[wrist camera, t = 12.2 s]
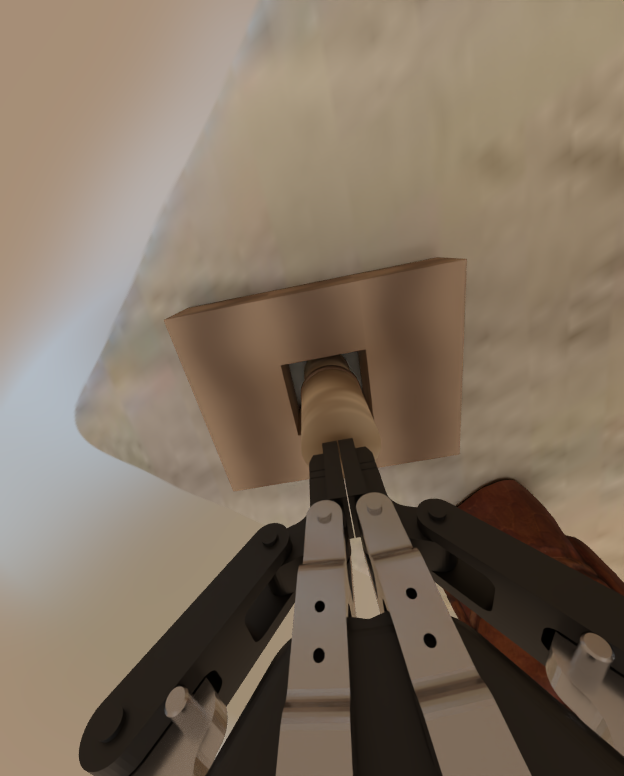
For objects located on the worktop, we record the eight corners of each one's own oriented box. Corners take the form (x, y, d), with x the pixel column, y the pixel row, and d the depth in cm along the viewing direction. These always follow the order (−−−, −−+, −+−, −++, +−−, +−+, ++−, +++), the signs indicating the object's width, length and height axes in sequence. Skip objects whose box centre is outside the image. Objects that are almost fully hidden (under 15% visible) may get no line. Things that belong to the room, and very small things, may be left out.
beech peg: (348, 343, 23) (378, 404, 14) (354, 390, 24) (385, 472, 15) (296, 352, 23) (292, 419, 14) (306, 398, 25) (308, 484, 15)
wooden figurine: (452, 554, 34) (590, 836, 18) (414, 531, 32) (529, 823, 16) (541, 492, 30) (823, 781, 14) (503, 463, 28) (777, 755, 12)
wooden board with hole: (437, 257, 20) (466, 259, 16) (437, 425, 26) (459, 454, 22) (187, 308, 21) (163, 320, 18) (242, 459, 27) (233, 491, 23)
